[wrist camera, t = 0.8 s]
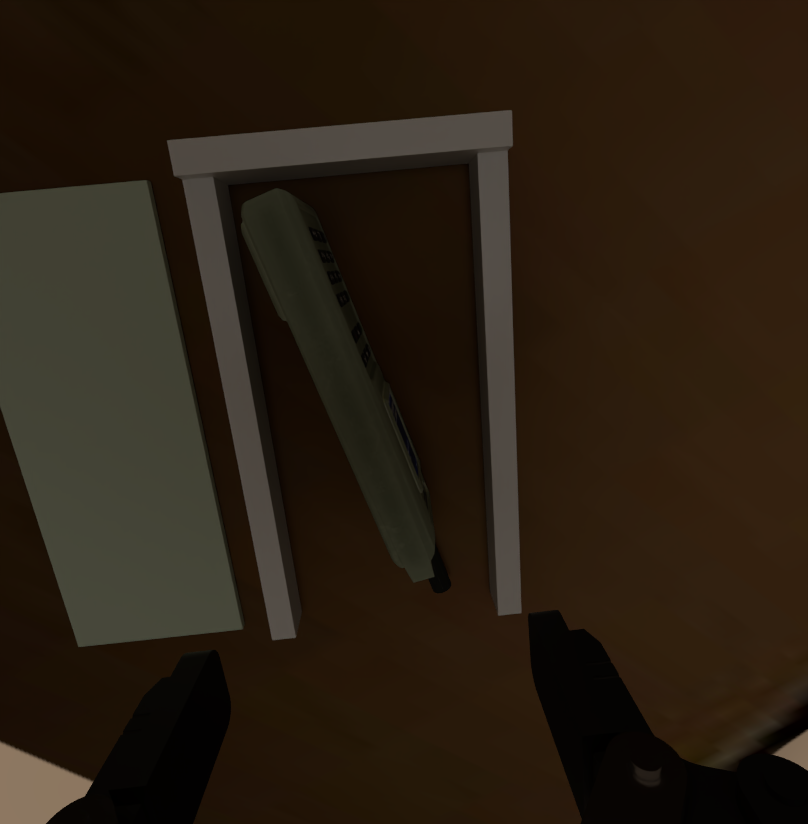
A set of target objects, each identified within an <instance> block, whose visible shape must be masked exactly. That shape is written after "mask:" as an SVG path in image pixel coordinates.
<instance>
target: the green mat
mask: <svg viewBox="0 0 808 824" xmlns="http://www.w3.org/2000/svg"><path fill="white" fill-rule="evenodd" d="M0 407H1V410H2V413H3V416H4V419H5V422H6V425H7V428H8V431H9V435H10V438H11V441H12V444H13V447H14V450H15V453H16V456H17V459H18V462H19V465H20V468H21V471H22V474H23V478H24V481H25V484H26V487H27V490H28V493H29V496H30V499H31V502H32V505H33V508H34V511H35V514H36V517H37V520H38V524H39V527H40V530H41V533H42V536H43V539H44V542H45V545H46V548H47V551H48V554H49V557H50V560H51V563H52V566H53V570H54V573H55V576H56V579H57V582H58V585H59V588H60V591H61V594H62V597H63V600H64V603H65V606H66V609H67V612H68V616H69V619H70V622H71V625H72V628H73V631H74V634H75V637H76V640H77V643H78V646H79V647H83V646H92V645H101V644H111V643H120V642H129V641H138V640H148V639H157V638H166V637H175V636H185V635H194V634H203V633H212V632H222V631H231V630H240V629H243V627H244V619H243V614H242V610H241V605H240V600H239V595H238V591H237V586H236V581H235V577H234V572H233V567H232V562H231V558H230V553H229V548H228V544H227V539H226V534H225V529H224V525H223V520H222V515H221V511H220V506H219V501H218V496H217V492H216V487H215V482H214V478H213V473H212V468H211V463H210V459H209V454H208V449H207V445H206V440H205V435H204V430H203V426H202V421H201V416H200V411H199V407H198V402H197V397H196V393H195V388H194V383H193V378H192V374H191V369H190V364H189V360H188V355H187V350H186V345H185V341H184V336H183V331H182V327H181V322H180V317H179V312H178V308H177V303H176V298H175V294H174V289H173V284H172V279H171V275H170V270H169V265H168V261H167V256H166V251H165V246H164V242H163V237H162V232H161V228H160V223H159V218H158V213H157V209H156V204H155V199H154V195H153V190H152V185H151V182H150V181H148V180H143V181H131V182H120V183H109V184H98V185H87V186H76V187H64V188H53V189H42V190H31V191H20V192H9V193H0Z"/></svg>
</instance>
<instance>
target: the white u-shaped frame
mask: <svg viewBox="0 0 808 824" xmlns="http://www.w3.org/2000/svg"><path fill="white" fill-rule="evenodd" d="M167 143H168V148H169V153H170V158H171V163H172V168H173V173H174V176H175V177H178V178H180V179H182V181H183V186H184V191H185V196H186V201H187V207H188V212H189V217H190V222H191V227H192V232H193V237H194V242H195V247H196V253H197V258H198V263H199V268H200V273H201V278H202V283H203V288H204V293H205V298H206V304H207V309H208V314H209V319H210V324H211V329H212V334H213V339H214V344H215V350H216V355H217V360H218V365H219V370H220V375H221V380H222V385H223V390H224V396H225V401H226V406H227V411H228V416H229V421H230V426H231V431H232V436H233V441H234V447H235V452H236V457H237V462H238V467H239V472H240V477H241V482H242V487H243V493H244V498H245V503H246V508H247V513H248V518H249V523H250V528H251V533H252V539H253V544H254V549H255V554H256V559H257V564H258V569H259V574H260V579H261V584H262V590H263V595H264V600H265V605H266V610H267V615H268V620H269V625H270V630H271V636H272V640H278V639H287V638H296V635H297V631H298V626H299V622H300V617H301V613H302V610H301V604H300V599H299V593H298V587H297V581H296V575H295V570H294V564H293V558H292V552H291V546H290V541H289V535H288V529H287V523H286V518H285V512H284V506H283V500H282V494H281V489H280V483H279V477H278V471H277V466H276V460H275V454H274V448H273V442H272V437H271V431H270V425H269V419H268V414H267V408H266V402H265V396H264V390H263V385H262V379H261V373H260V367H259V362H258V356H257V350H256V344H255V338H254V333H253V327H252V321H251V315H250V310H249V304H248V298H247V292H246V286H245V281H244V275H243V269H242V263H241V257H240V252H239V246H238V240H237V234H236V229H235V223H234V217H233V211H232V205H231V200H230V194H229V188H228V185H235V184H246V183H257V182H268V181H279V180H290V179H302V178H313V177H324V176H335V175H346V174H357V173H368V172H379V171H390V170H401V169H413V168H424V167H435V166H446V165H457V164H468V163H469V178H470V198H471V218H472V239H473V259H474V279H475V299H476V319H477V339H478V360H479V380H480V400H481V420H482V440H483V460H484V481H485V501H486V521H487V541H488V561H489V581H490V593H491V596H492V599H493V602H494V605H495V608H496V610H497V613H498V616H499V615H508V614H517V613H521V584H520V550H519V516H518V483H517V449H516V416H515V382H514V349H513V315H512V282H511V248H510V214H509V181H508V150H509V149H510V148H511V147H512V146H513V136H512V110H508V111H496V112H485V113H474V114H462V115H451V116H439V117H428V118H417V119H405V120H394V121H383V122H371V123H360V124H349V125H337V126H326V127H315V128H303V129H292V130H281V131H269V132H258V133H246V134H235V135H224V136H212V137H201V138H190V139H178V140H167Z"/></svg>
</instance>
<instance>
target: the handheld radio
mask: <svg viewBox="0 0 808 824" xmlns="http://www.w3.org/2000/svg"><path fill="white" fill-rule="evenodd" d="M241 216H242V219H243V222H242V224H241V230H242V234H243V237H244V239H245V241H246V244H247V246H248V248H249V250H250V253H251V255H252V257H253V259H254V262H255V264H256V266H257V268H258V271H259V273H260V275H261V277H262V280H263V282H264V284H265V286H266V289H267V291H268V293H269V295H270V298H271V300H272V302H273V304H274V307H275V309H276V311H277V313H278V315H279V316H280V318H281V319H282V320H284V321H287V322H288V324H289V327H290V329H291V331H292V334H293V336H294V338H295V340H296V343H297V345H298V347H299V349H300V352H301V354H302V356H303V359H304V361H305V363H306V365H307V368H308V370H309V372H310V374H311V377H312V379H313V381H314V383H315V386H316V388H317V390H318V393H319V395H320V397H321V399H322V402H323V404H324V406H325V408H326V411H327V413H328V415H329V418H330V420H331V422H332V424H333V427H334V429H335V431H336V433H337V436H338V438H339V440H340V443H341V445H342V447H343V449H344V452H345V454H346V456H347V458H348V461H349V463H350V465H351V467H352V470H353V472H354V474H355V477H356V479H357V481H358V483H359V486H360V488H361V490H362V492H363V495H364V497H365V499H366V502H367V504H368V506H369V508H370V511H371V513H372V515H373V517H374V520H375V522H376V524H377V526H378V529H379V531H380V533H381V536H382V538H383V540H384V542H385V545H386V547H387V549H388V551H389V554H390V556H391V558H392V560H393V562H394V563H395V564H396V565H398V566H399V567H400V568H404V567H405V569H406V571H407V572H408V574H409V576H410V577H411V579H412V581H413V582H417V581H421V580H425V579H429V582H430V584H431V586H432V589H433V591H434V592H435V593H443V592H445V591H447V590H448V589H449V588H450V587H451V582H450V579H449V577H448V574H447V572H446V569H445V567H444V564H443V562H442V560H441V557H440V555H439V552H438V550H437V547H436V545H435V532H434V524H433V516H432V509H431V501H430V494H429V491H428V489H427V486H426V483H425V480H424V478H423V475H422V473H421V467H420V460H419V458H418V456H417V453H416V451H415V448H414V446H413V443H412V441H411V438H410V436H409V433H408V431H407V428H406V426H405V423H404V420H403V418H402V415H401V413H400V410H399V408H398V405H397V403H396V400H395V398H394V395H393V393H392V390H391V388H390V383H388V382H386V381H385V379H384V377H383V374H382V372H381V369H380V367H379V365H378V364H377V362H376V359H375V357H374V354H373V352H372V349H371V347H370V345H369V342H368V340H367V337H366V335H365V332H364V330H363V327H362V325H361V322H360V320H359V317H358V315H357V313H356V310H355V308H354V305H353V303H352V300H351V298H350V295H349V293H348V290H347V288H346V285H345V283H344V280H343V278H342V276H341V273H340V271H339V268H338V266H337V263H336V261H335V258H334V256H333V253H332V251H331V248H330V246H329V244H328V241H327V239H326V236H325V234H324V231H323V229H322V226H321V224H320V221H319V219H318V216H317V214H316V212H315V210H314V209H313V208H312V207H311V206H309V205H308V204H306V203H304V202H303V201H301V200H300V199H298V198H297V197H295V196H293V195H292V194H290V193H289V192H287V191H285V190H282V189H278V188H275V189H273V190H271V191H268V192H266V193H264V194H262V195H260V196H257V197H255V198H253V199H251V200H248V201H246V202H245V203H244V204H243V205H242V211H241Z"/></svg>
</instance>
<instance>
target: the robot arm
mask: <svg viewBox="0 0 808 824" xmlns="http://www.w3.org/2000/svg"><path fill="white" fill-rule="evenodd" d="M528 624H529V640H530V656H531V668H532V674H533V679H534V683H535V687H536V690H537V693H538V696H539V699H540V702H541V704H542V707H543V710H544V713H545V716H546V719H547V722H548V724H549V727H550V730H551V733H552V736H553V739H554V741H555V744H556V747H557V750H558V753H559V756H560V758H561V761H562V764H563V767H564V770H565V773H566V775H567V778H568V781H569V784H570V787H571V790H572V792H573V795H574V798H575V801H576V804H577V807H578V809H579V812H580V815H581V818H582V821H581V824H808V771H807V770H806V769H804V768H803V767H801V766H799V765H798V764H796V763H794V762H792V761H790V760H787V759H785V758H782V757H779V756H775V755H770V754H754V755H750V756H747V757H746V758H744V759H743V760H742V761H741V762H740V763H739V766H738V768H737V772H732V771H727V770H722V769H716V768H711V767H706V766H701V765H697V764H694V763H691V762H688V761H686V760H684V759H682V758H680V756H679V755H678V754H677V752H676V751H675V750H674V749H673V748H672V747H671V746H669V745H668V744H667V743H666V742H664V741H662V740H661V739H659V738H657V737H655V736H654V735H653V733H652V732H651V730H650V728H649V726H648V725H647V723H646V721H645V719H644V718H643V716H642V714H641V712H640V711H639V709H638V707H637V705H636V704H635V702H634V700H633V698H632V697H631V695H630V693H629V691H628V690H627V688H626V686H625V684H624V683H623V681H622V679H621V678H619V674H618V672H617V670H616V669H615V667H614V665H613V663H611V661H610V658H609V657H608V655H607V653H606V651H605V650H604V648H603V646H602V644H601V643H600V642H599V641H598V640H597V639H595V638H594V637H593V636H592V635H591V634H589V633H588V632H587V631H586V630H585V629H579V630H571V631H569V629H568V627H567V625H566V623H565V621H564V619H563V617H562V615H561V613H560V612H559V611H558V610H553V611H544V612H536V613H529V615H528ZM230 714H231V701H230V695H229V691H228V688H227V684H226V680H225V676H224V672H223V668H222V664H221V661H220V657H219V654H218V652H217V651H216V650H208V651H200V652H192V653H185V654H184V655H183V656H182V657H181V659H180V660H179V662H178V664H177V666H176V668H175V670H174V671H173V673H172V675H171V677H166V678H162V679H161V680H160V681H159V682H157V683H156V684H155V685H154V686H153V687H152V688H151V689H150V690H149V691H148V692H147V693H146V694H145V695H144V697H143V698H142V700H141V702H140V703H139V705H138V707H137V709H136V710H135V712H134V714H133V718H132V719H130V721H129V722H128V724H127V726H126V727H125V729H124V731H123V735H121V736H120V738H119V739H118V741H117V743H116V744H115V746H114V748H113V749H112V751H111V753H110V755H109V756H108V758H107V760H106V761H105V763H104V765H103V766H102V768H101V770H100V772H99V773H98V775H97V777H96V778H95V780H94V782H93V783H92V785H91V787H90V789H89V790H88V792H87V794H86V796H85V797H83V798H80V799H78V800H76V801H74V802H72V803H70V804H69V805H67V806H66V807H64V808H63V809H62V810H60V811H59V812H58V813H56V814H55V815H54V816H53V817H52V818H51V819H50V820H49V821H48V822H47V823H46V824H193V822H194V820H195V817H196V814H197V811H198V808H199V806H200V803H201V800H202V797H203V795H204V792H205V789H206V786H207V784H208V781H209V778H210V775H211V772H212V770H213V767H214V764H215V761H216V759H217V756H218V753H219V750H220V747H221V745H222V742H223V739H224V736H225V734H226V731H227V728H228V725H229V721H230Z"/></svg>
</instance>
